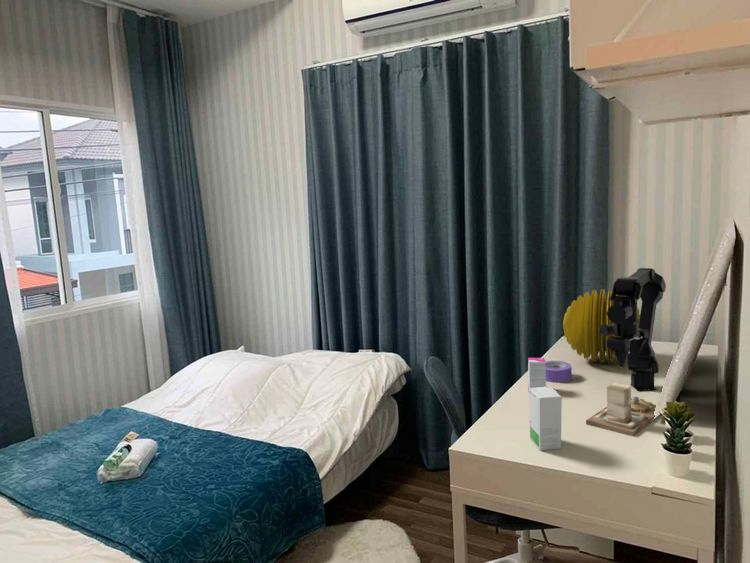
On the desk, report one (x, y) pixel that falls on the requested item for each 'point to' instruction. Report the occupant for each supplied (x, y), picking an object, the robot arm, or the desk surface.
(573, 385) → the desk surface
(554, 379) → the tape roll
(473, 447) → the desk surface
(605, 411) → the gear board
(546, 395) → the skincare box
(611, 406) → the marble stone block
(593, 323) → the lamp
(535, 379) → the supplement box
